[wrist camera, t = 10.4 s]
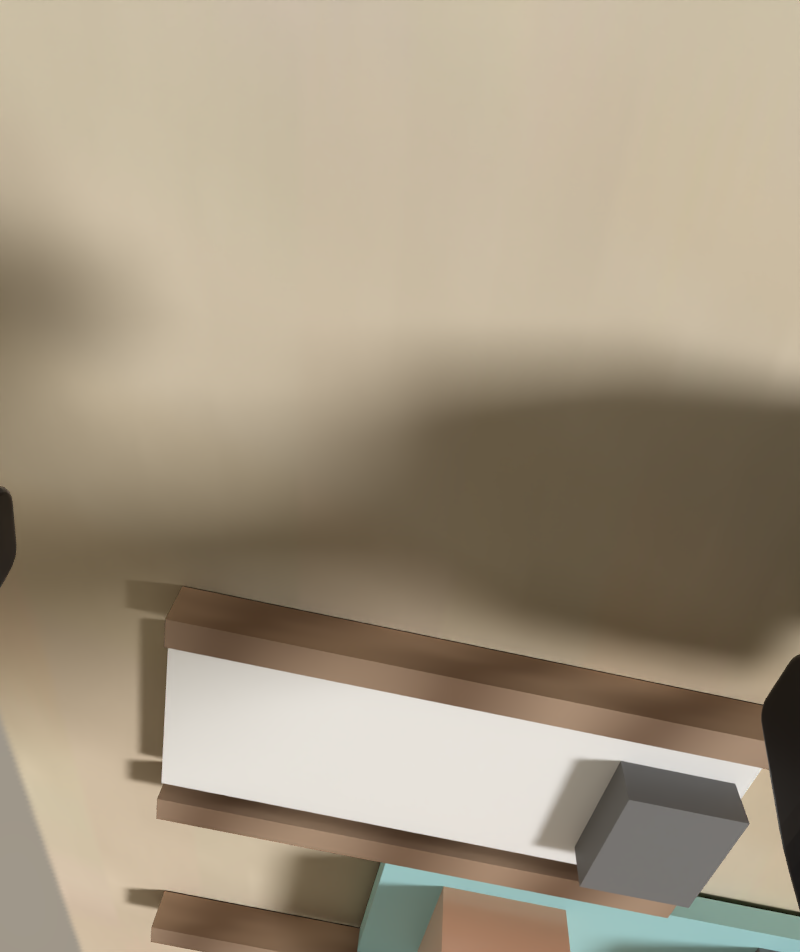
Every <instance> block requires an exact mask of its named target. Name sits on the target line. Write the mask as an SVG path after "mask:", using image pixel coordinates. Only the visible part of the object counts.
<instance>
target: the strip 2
mask: <svg viewBox="0 0 800 952" xmlns="http://www.w3.org/2000/svg"><path fill="white" fill-rule="evenodd" d="M443 886H445V887H450V888H455V889H460V890H465V891H471V892H476V893H481V894H486V895H491V896H496V897H501V898H507V899H512V900H517V901H522V902H527V903H532V904H537V905H543V906H548V907H553V908H558V909H563V910H566V916H567V925H568V934H569V943H570V952H800V917H798V916H793V915H788V914H783V913H778V912H773V911H768V910H763V909H758V908H753V907H748V906H742V905H737V904H732V903H727V902H722V901H717V900H712V899H707V898H702V897H696V899H695V900H694V901H693V903H692V904H691V905H690V907H689V908H686V907H681V906H676V907H675V909H674V910H673V911H672V913H671V914H670V916H669V917H668V918H663V917H658V916H653V915H648V914H643V913H638V912H633V911H628V910H622V909H617V908H612V907H607V906H602V905H597V904H592V903H587V902H581V901H576V900H571V899H566V898H561V897H556V896H551V895H546V894H541V893H535V892H530V891H525V890H520V889H515V888H510V887H505V886H500V885H494V884H489V883H484V882H479V881H474V880H469V879H464V878H459V877H453V876H448V875H443V874H438V873H433V872H428V871H423V870H418V869H412V868H407V867H402V866H397V865H392V864H387V863H382V862H381V863H380V866H379V869H378V873H377V876H376V879H375V882H374V885H373V888H372V892H371V895H370V898H369V901H368V904H367V907H366V911H365V914H364V917H363V920H362V923H361V927H360V932H359V940H358V948H357V952H418V949H419V946H420V944H421V941H422V939H423V936H424V934H425V931H426V929H427V926H428V924H429V921H430V919H431V916H432V914H433V911H434V909H435V906H436V904H437V901H438V899H439V896H440V894H441V891H442V889H443Z"/></svg>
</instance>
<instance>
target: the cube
mask: <svg viewBox="0 0 800 952" xmlns="http://www.w3.org/2000/svg"><path fill="white" fill-rule="evenodd" d="M418 952H570V943H569V934H568V925H567V916H566V910H563V909H558V908H553V907H548V906H543V905H537V904H532V903H527V902H522V901H517V900H512V899H507V898H501V897H496V896H491V895H486V894H481V893H476V892H471V891H465V890H460V889H455V888H450V887H445V886H443V889H442V891H441V894H440V896H439V899H438V901H437V904H436V906H435V909H434V911H433V914H432V916H431V919H430V921H429V924H428V926H427V929H426V931H425V934H424V936H423V939H422V941H421V944H420V946H419V949H418Z"/></svg>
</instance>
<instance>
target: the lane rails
mask: <svg viewBox="0 0 800 952" xmlns="http://www.w3.org/2000/svg"><path fill="white" fill-rule="evenodd" d="M164 647H166V648H171V649H175V650H180V651H185V652H190V653H195V654H200V655H205V656H210V657H215V658H220V659H225V660H230V661H235V662H240V663H245V664H250V665H254V666H259V667H264V668H269V669H274V670H279V671H284V672H289V673H294V674H299V675H304V676H309V677H314V678H319V679H324V680H329V681H333V682H338V683H343V684H348V685H353V686H358V687H363V688H368V689H373V690H378V691H383V692H388V693H393V694H398V695H403V696H408V697H412V698H417V699H422V700H427V701H432V702H437V703H442V704H447V705H452V706H457V707H462V708H467V709H472V710H477V711H482V712H487V713H491V714H496V715H501V716H506V717H511V718H516V719H521V720H526V721H531V722H536V723H541V724H546V725H551V726H556V727H561V728H566V729H570V730H575V731H580V732H585V733H590V734H595V735H600V736H605V737H610V738H615V739H620V740H625V741H630V742H635V743H640V744H645V745H649V746H654V747H659V748H664V749H669V750H674V751H679V752H684V753H689V754H694V755H699V756H704V757H709V758H714V759H719V760H724V761H728V762H733V763H738V764H743V765H748V766H753V767H758V768H763V769H768V770H769V765H768V759H767V753H766V747H765V742H764V736H763V730H762V723H761V712H762V707H763V705H758V704H753V703H748V702H744V701H739V700H734V699H729V698H724V697H719V696H714V695H709V694H705V693H700V692H695V691H690V690H685V689H680V688H675V687H671V686H666V685H661V684H656V683H651V682H646V681H641V680H636V679H632V678H627V677H622V676H617V675H612V674H607V673H602V672H597V671H593V670H588V669H583V668H578V667H573V666H568V665H563V664H558V663H554V662H549V661H544V660H539V659H534V658H529V657H524V656H520V655H515V654H510V653H505V652H500V651H495V650H490V649H485V648H481V647H476V646H471V645H466V644H461V643H456V642H451V641H446V640H442V639H437V638H432V637H427V636H422V635H417V634H412V633H407V632H403V631H398V630H393V629H388V628H383V627H378V626H373V625H368V624H364V623H359V622H354V621H349V620H344V619H339V618H334V617H330V616H325V615H320V614H315V613H310V612H305V611H300V610H295V609H291V608H286V607H281V606H276V605H271V604H266V603H261V602H256V601H252V600H247V599H242V598H237V597H232V596H227V595H222V594H217V593H213V592H208V591H203V590H198V589H193V588H188V587H183V586H182V588H181V590H180V592H179V594H178V596H177V598H176V600H175V602H174V603H173V605H172V607H171V609H170V611H169V613H168V615H167V617H166V619H165V638H164ZM156 819H161V820H166V821H172V822H177V823H182V824H187V825H192V826H197V827H202V828H207V829H213V830H218V831H223V832H228V833H233V834H238V835H243V836H248V837H254V838H259V839H264V840H269V841H274V842H279V843H284V844H289V845H295V846H300V847H305V848H310V849H315V850H320V851H325V852H330V853H336V854H341V855H346V856H351V857H356V858H361V859H366V860H371V861H377V862H382V863H387V864H392V865H397V866H402V867H407V868H412V869H418V870H423V871H428V872H433V873H438V874H443V875H448V876H453V877H459V878H464V879H469V880H474V881H479V882H484V883H489V884H494V885H500V886H505V887H510V888H515V889H520V890H525V891H530V892H535V893H541V894H546V895H551V896H556V897H561V898H566V899H571V900H576V901H581V902H587V903H592V904H597V905H602V906H607V907H612V908H617V909H622V910H628V911H633V912H638V913H643V914H648V915H653V916H658V917H663V918H668V917H669V916H670V914H671V913H672V911H673V910H674V909H675V907H676V905H671V904H666V903H661V902H655V901H650V900H645V899H640V898H635V897H630V896H625V895H620V894H615V893H609V892H604V891H599V890H594V889H589V888H584V887H580V886H579V878H578V871H577V865H576V864H571V863H566V862H561V861H556V860H551V859H546V858H541V857H535V856H530V855H525V854H520V853H515V852H510V851H505V850H500V849H495V848H490V847H485V846H480V845H474V844H469V843H464V842H459V841H454V840H449V839H444V838H439V837H434V836H429V835H424V834H419V833H413V832H408V831H403V830H398V829H393V828H388V827H383V826H378V825H373V824H368V823H363V822H358V821H352V820H347V819H342V818H337V817H332V816H327V815H322V814H317V813H312V812H307V811H302V810H297V809H291V808H286V807H281V806H276V805H271V804H266V803H261V802H256V801H251V800H246V799H241V798H236V797H230V796H225V795H220V794H215V793H210V792H205V791H200V790H195V789H190V788H185V787H180V786H175V785H169V784H163V786H162V789H161V791H160V794H159V796H158V798H157V816H156ZM359 932H360V928H355V927H349V926H344V925H339V924H334V923H329V922H323V921H318V920H313V919H308V918H303V917H297V916H292V915H287V914H282V913H276V912H271V911H266V910H261V909H256V908H250V907H245V906H240V905H235V904H230V903H224V902H219V901H214V900H209V899H204V898H198V897H193V896H188V895H183V894H178V893H172V892H167V891H164V894H163V897H162V899H161V902H160V905H159V908H158V911H157V913H156V916H155V919H154V922H153V925H152V928H151V942H154V943H160V944H165V945H170V946H175V947H181V948H186V949H191V950H196V951H202V952H357V948H358V940H359Z"/></svg>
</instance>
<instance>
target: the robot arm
mask: <svg viewBox="0 0 800 952" xmlns="http://www.w3.org/2000/svg"><path fill="white" fill-rule="evenodd" d="M15 555H16V535H15V524H14V512H13V501H12V497H11V494H10V492H9V491H8V490H7V489H6V488H4V487H2V486H0V587H1V585H2V584H3V582H4V580H5V578H6V577H7V575H8V573H9V571H10V569H11V567H12V565H13V562H14V559H15ZM761 723H762V730H763V736H764V742H765V747H766V753H767V759H768V765H769V771H770V777H771V783H772V789H773V795H774V800H775V806H776V812H777V818H778V824H779V830H780V834H781V839H782V844H783V849H784V853H785V857H786V861H787V865H788V869H789V873H790V877H791V880H792V884H793V888H794V891H795V895H796V898H797V902H798V906H799V909H800V654H799V655H797V656H795V657H794V658H793V659H792V660H791V661H790V662H789V664H788V665H787V667H786V668H785V670H784V672H783V673H782V675H781V676H780V678H779V679H778V681H777V682H776V684H775V685H774V687H773V688H772V690H771V692H770V693H769V695H768V696H767V698H766V699H765V701H764V704H763V707H762V712H761Z"/></svg>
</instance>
